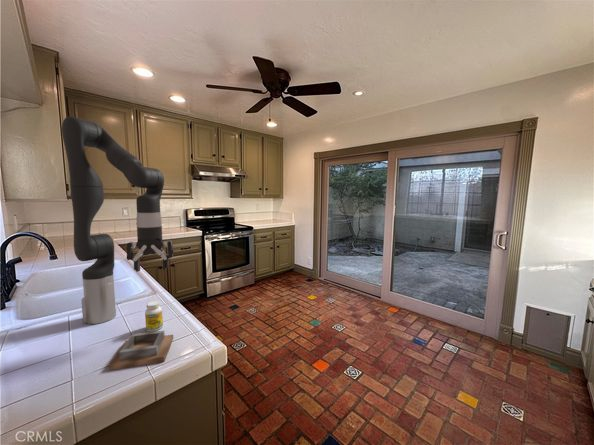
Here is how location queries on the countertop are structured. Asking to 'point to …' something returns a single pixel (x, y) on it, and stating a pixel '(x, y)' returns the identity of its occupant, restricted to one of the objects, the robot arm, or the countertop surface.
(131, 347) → the socket stand
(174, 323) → the countertop surface
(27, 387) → the countertop surface
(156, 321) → the supplement bottle
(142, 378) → the countertop surface
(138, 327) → the countertop surface
